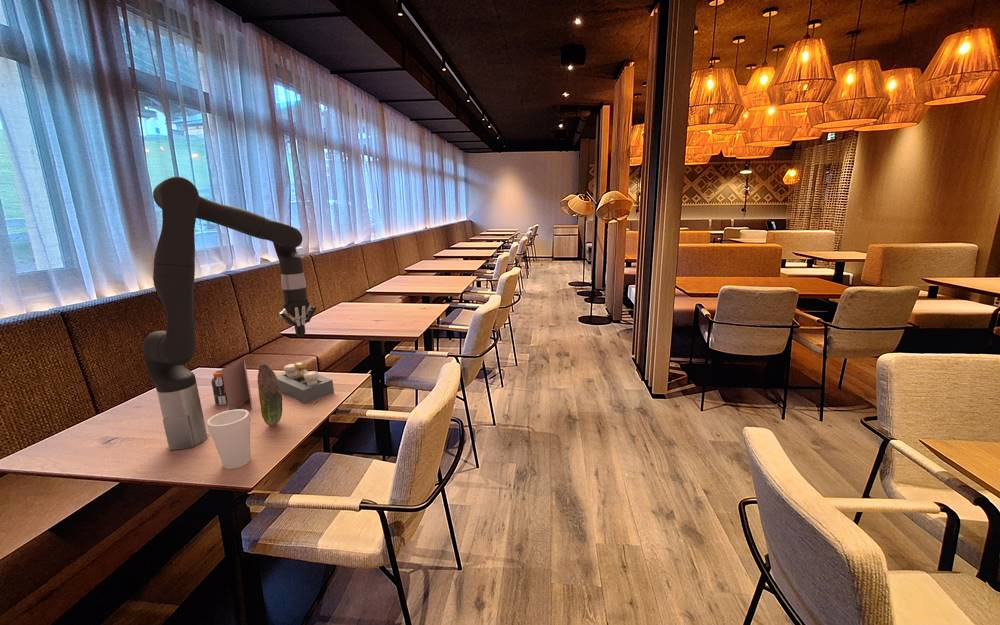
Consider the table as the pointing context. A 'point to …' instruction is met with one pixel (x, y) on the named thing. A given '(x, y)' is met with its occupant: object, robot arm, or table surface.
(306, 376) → the near cream knob
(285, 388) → the mount
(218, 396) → the pill bottle
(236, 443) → the foam cup
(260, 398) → the vegetable
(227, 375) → the greeting card
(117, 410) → the table surface
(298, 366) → the gold tall rounded piece
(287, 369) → the far cream knob
